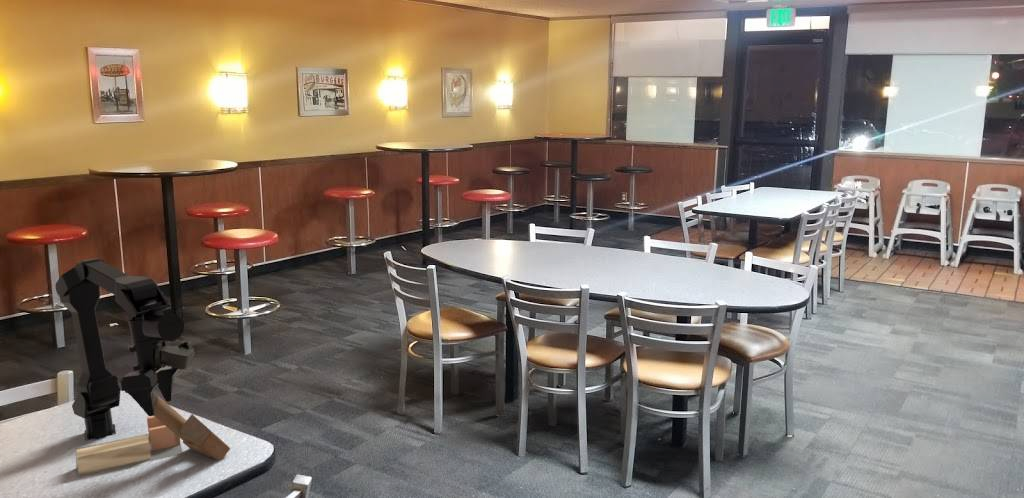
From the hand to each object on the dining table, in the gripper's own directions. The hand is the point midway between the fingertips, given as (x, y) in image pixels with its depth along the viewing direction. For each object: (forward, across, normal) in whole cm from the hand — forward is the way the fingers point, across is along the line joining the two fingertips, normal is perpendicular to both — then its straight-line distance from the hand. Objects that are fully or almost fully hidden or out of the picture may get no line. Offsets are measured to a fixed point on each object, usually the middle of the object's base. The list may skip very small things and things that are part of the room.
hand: (160, 408), depth 167 cm
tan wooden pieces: (+13, +6, -7) cm, 16 cm away
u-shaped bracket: (+12, +12, +6) cm, 18 cm away
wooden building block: (+11, +2, +13) cm, 17 cm away
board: (+12, +7, +12) cm, 18 cm away
